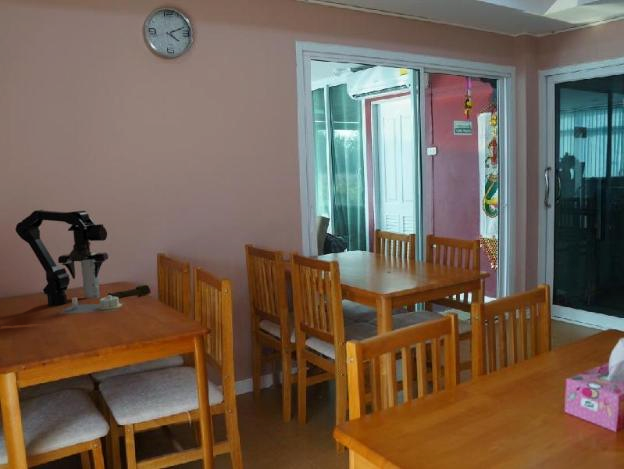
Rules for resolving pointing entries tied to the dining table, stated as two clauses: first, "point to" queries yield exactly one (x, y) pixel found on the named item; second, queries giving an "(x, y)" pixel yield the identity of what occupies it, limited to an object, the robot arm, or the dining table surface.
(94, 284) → the spray can
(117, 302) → the ring
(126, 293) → the hand tool
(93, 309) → the rod board
